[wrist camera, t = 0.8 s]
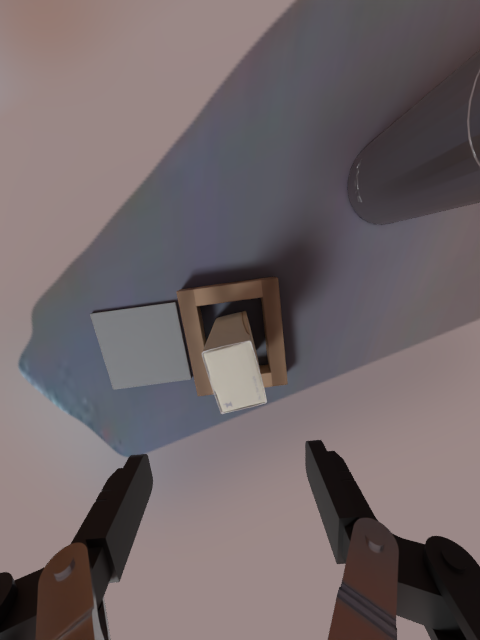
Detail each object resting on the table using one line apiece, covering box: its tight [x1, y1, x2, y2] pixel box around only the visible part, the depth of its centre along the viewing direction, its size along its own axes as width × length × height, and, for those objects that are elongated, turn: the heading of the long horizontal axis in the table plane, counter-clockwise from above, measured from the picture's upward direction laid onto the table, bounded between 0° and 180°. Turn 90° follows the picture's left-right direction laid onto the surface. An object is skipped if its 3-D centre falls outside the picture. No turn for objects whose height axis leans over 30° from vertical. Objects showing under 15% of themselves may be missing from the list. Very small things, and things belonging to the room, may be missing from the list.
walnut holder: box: [177, 277, 287, 396], centre depth 30 cm, size 12×14×2 cm
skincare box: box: [202, 311, 267, 414], centre depth 25 cm, size 6×4×12 cm
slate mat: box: [90, 302, 191, 390], centre depth 31 cm, size 11×11×1 cm
